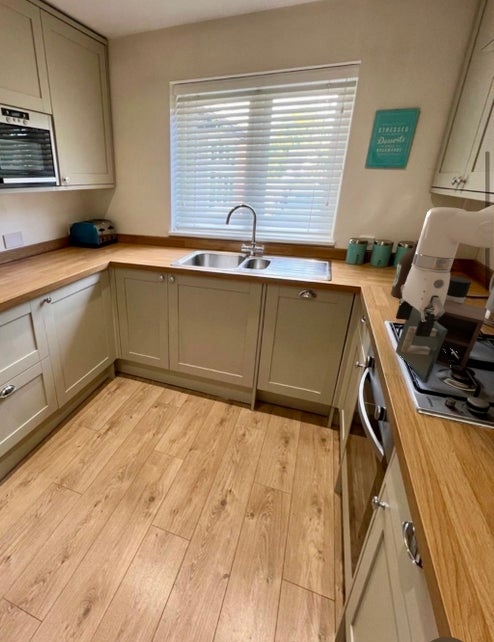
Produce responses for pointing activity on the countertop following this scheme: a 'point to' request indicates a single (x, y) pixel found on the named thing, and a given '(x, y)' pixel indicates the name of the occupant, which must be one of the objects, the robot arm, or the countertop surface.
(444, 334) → the door
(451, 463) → the countertop surface
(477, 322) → the cupboard
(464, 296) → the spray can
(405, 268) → the olive oil
